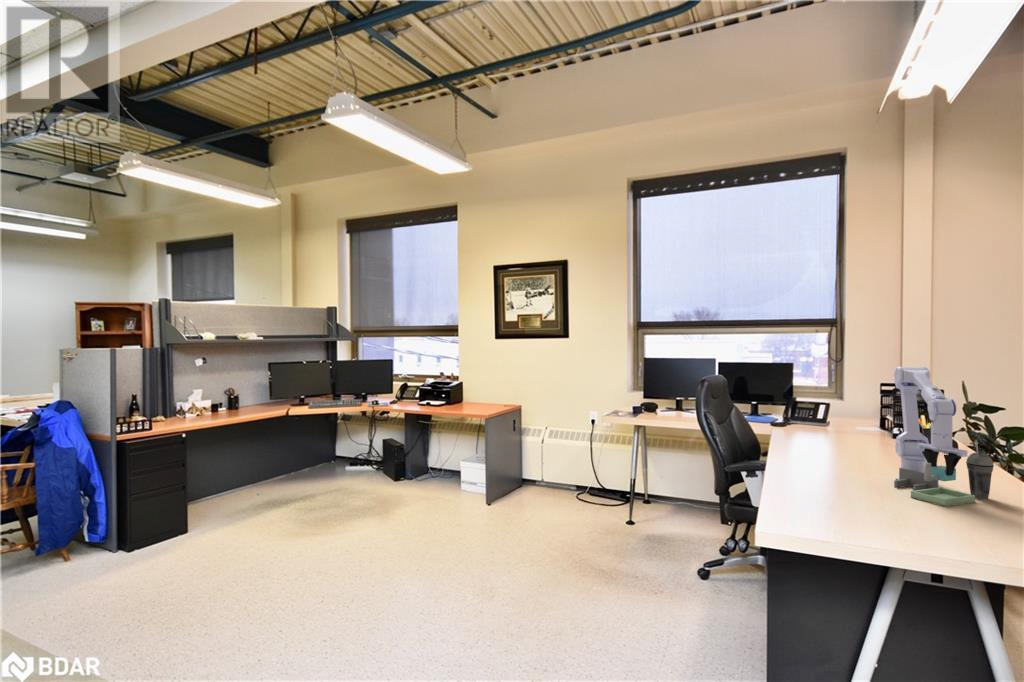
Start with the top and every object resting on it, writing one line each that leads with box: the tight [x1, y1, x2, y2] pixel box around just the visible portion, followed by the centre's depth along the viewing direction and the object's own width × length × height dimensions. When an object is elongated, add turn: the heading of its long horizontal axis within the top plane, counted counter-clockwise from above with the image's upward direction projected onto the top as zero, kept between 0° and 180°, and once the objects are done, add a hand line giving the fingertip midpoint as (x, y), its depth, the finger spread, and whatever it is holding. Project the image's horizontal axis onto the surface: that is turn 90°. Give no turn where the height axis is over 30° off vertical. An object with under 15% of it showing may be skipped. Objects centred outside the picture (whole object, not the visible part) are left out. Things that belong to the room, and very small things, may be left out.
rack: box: [893, 467, 939, 491], centre depth 192 cm, size 8×13×6 cm, turn 19°
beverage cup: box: [965, 439, 995, 500], centre depth 181 cm, size 7×7×20 cm
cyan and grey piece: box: [924, 463, 957, 482], centre depth 180 cm, size 11×4×6 cm, turn 109°
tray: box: [910, 486, 976, 507], centre depth 179 cm, size 15×11×2 cm
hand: (941, 473), depth 181 cm, fingers closed on cyan and grey piece, 4 cm apart
